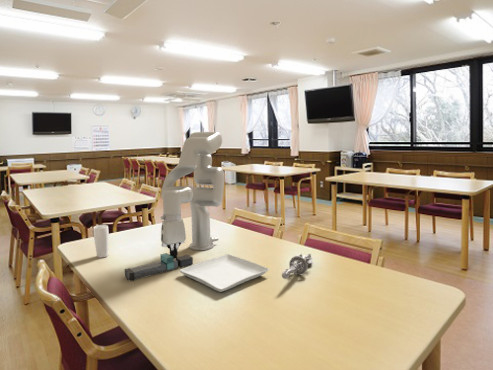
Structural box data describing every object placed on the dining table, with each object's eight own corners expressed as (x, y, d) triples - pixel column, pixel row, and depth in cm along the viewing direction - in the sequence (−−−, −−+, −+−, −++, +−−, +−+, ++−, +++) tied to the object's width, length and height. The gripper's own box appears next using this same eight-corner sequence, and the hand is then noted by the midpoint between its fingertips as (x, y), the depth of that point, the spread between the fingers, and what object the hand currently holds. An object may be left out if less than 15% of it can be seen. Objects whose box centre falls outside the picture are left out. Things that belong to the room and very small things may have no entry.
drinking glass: (104, 259, 166) (102, 228, 164) (92, 258, 168) (89, 228, 166) (112, 254, 173) (111, 225, 171) (100, 253, 174) (98, 224, 172)
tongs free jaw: (172, 264, 158) (171, 257, 158) (175, 266, 156) (174, 259, 156) (124, 276, 145) (124, 269, 145) (127, 278, 143) (126, 271, 142)
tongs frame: (187, 261, 163) (187, 254, 162) (193, 264, 158) (193, 257, 158) (125, 277, 145) (124, 269, 145) (129, 281, 141) (129, 273, 140)
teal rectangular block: (167, 263, 157) (166, 253, 156) (173, 268, 152) (173, 257, 151) (160, 265, 155) (160, 254, 155) (167, 269, 150) (166, 258, 149)
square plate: (227, 260, 164) (227, 252, 164) (270, 277, 145) (270, 268, 144) (178, 277, 146) (178, 268, 145) (220, 298, 126) (220, 288, 126)
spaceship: (270, 268, 132) (288, 263, 129) (300, 250, 163) (315, 246, 160) (276, 288, 131) (295, 284, 128) (305, 267, 162) (321, 263, 159)
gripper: (159, 221, 145) (161, 263, 147) (191, 216, 154) (192, 256, 157) (152, 218, 151) (154, 259, 153) (183, 213, 160) (184, 252, 162)
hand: (173, 257), depth 155 cm, fingers closed
